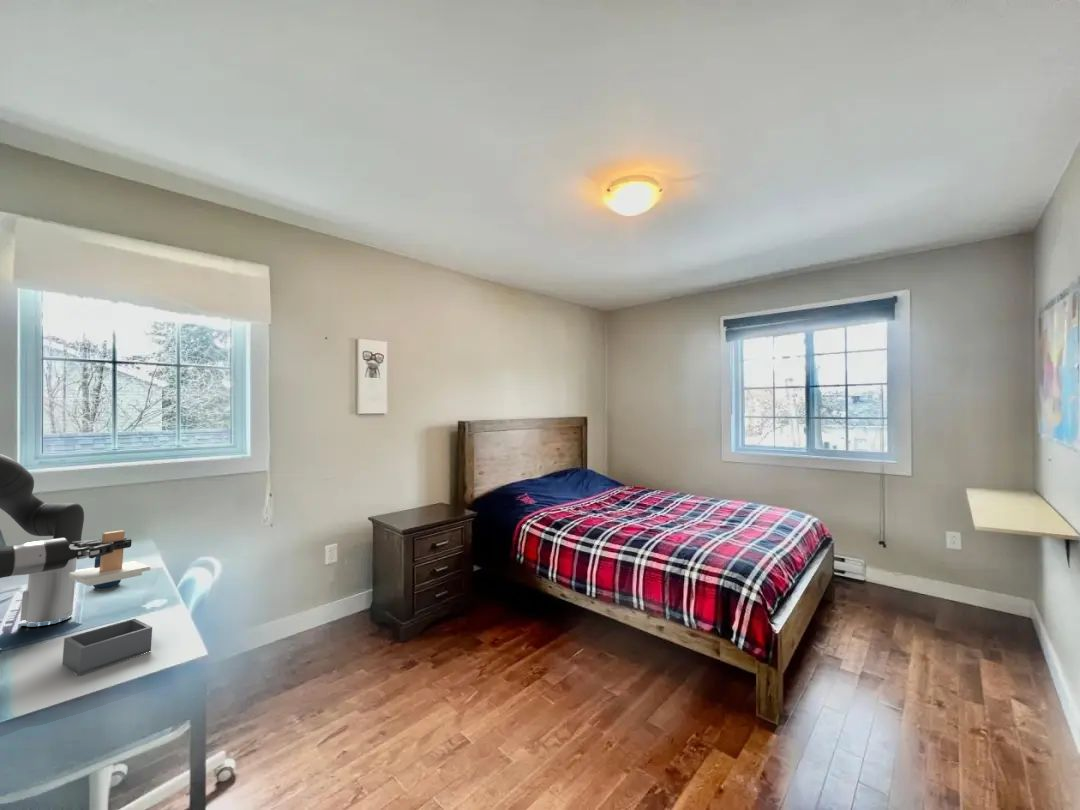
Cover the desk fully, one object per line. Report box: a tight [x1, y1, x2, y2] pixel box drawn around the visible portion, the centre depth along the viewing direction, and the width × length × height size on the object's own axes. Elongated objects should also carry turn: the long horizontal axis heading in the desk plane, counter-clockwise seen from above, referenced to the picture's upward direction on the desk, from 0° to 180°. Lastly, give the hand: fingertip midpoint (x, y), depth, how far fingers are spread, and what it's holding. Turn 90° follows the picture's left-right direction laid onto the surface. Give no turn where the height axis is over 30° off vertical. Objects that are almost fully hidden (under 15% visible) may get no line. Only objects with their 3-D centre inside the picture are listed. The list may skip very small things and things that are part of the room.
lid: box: [69, 529, 151, 587], centre depth 122 cm, size 13×10×12 cm
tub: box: [62, 618, 153, 677], centre depth 109 cm, size 13×10×6 cm
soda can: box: [92, 556, 122, 591], centre depth 157 cm, size 7×7×12 cm
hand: (128, 542), depth 125 cm, fingers closed on lid
